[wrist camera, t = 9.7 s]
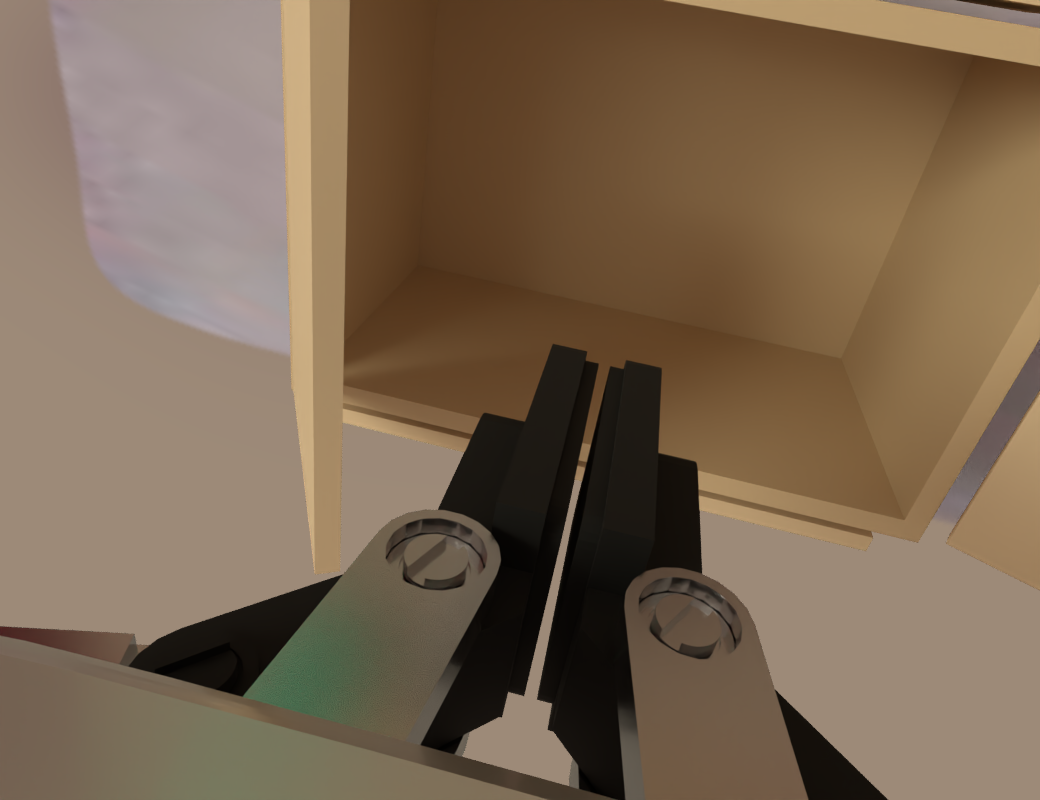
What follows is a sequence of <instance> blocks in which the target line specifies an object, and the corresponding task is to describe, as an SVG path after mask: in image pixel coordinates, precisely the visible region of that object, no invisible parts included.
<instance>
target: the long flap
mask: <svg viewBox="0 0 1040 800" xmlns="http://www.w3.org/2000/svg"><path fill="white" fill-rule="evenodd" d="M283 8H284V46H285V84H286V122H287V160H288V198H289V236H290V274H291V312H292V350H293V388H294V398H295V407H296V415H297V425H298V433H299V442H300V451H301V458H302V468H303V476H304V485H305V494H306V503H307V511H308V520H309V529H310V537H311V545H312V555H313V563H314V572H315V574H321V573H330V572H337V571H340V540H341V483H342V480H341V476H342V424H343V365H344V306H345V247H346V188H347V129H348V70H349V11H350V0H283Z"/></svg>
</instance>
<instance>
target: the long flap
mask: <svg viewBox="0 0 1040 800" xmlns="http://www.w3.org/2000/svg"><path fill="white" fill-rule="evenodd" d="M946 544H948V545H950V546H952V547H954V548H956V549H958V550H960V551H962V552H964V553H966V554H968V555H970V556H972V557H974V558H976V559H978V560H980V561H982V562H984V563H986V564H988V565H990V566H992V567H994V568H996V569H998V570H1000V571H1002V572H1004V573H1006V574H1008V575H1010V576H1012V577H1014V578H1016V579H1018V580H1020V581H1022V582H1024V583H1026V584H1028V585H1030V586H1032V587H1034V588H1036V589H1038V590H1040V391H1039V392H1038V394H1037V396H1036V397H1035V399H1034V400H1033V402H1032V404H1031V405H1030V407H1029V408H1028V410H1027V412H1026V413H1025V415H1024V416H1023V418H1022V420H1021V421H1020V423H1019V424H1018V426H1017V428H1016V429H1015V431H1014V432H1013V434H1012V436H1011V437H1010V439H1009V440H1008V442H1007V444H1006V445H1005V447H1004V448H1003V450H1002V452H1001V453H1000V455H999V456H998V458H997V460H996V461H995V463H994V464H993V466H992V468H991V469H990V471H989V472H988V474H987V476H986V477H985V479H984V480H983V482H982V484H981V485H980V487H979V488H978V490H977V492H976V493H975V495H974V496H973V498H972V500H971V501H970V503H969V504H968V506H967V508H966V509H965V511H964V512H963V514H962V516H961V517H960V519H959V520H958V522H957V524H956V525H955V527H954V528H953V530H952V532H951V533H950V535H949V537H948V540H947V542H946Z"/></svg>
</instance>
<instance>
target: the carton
mask: <svg viewBox="0 0 1040 800" xmlns="http://www.w3.org/2000/svg"><path fill="white" fill-rule="evenodd" d="M957 1H963V2H969V3H975V4H981V5H987V6H993V7H999V8H1004V9H1010V10H1016V11H1022V12H1029V13H1039V14H1040V0H957ZM281 26H282V62H283V98H284V133H285V169H286V205H287V241H288V277H289V312H290V348H291V382H292V383H291V384H292V390H293V391H294V388H293V350H292V312H291V274H290V236H289V198H288V160H287V122H286V84H285V46H284V8H283V0H281ZM1039 339H1040V28H1035V27H1030V26H1024V25H1018V24H1012V23H1006V22H1000V21H995V20H989V19H983V18H977V17H971V16H966V15H960V14H954V13H948V12H942V11H936V10H931V9H925V8H919V7H913V6H907V5H901V4H896V3H890V2H884V1H878V0H350V11H349V70H348V129H347V188H346V247H345V306H344V365H343V423H347V424H351V425H355V426H359V427H363V428H368V429H372V430H376V431H380V432H384V433H388V434H392V435H396V436H400V437H404V438H408V439H412V440H416V441H420V442H424V443H428V444H433V445H437V446H441V447H445V448H449V449H453V450H457V451H461V452H465V450H466V448H467V446H468V444H469V441H470V439H471V437H472V435H473V433H474V431H475V429H476V426H477V424H478V422H479V420H480V418H481V416H482V414H483V413H489V414H494V415H498V416H502V417H507V418H511V419H515V420H520V421H524V422H525V420H526V417H527V415H528V412H529V409H530V406H531V403H532V401H533V398H534V395H535V392H536V389H537V387H538V384H539V381H540V378H541V375H542V372H543V370H544V367H545V364H546V361H547V358H548V356H549V353H550V350H551V347H552V345H553V344H557V345H561V346H566V347H570V348H575V349H579V350H584V351H587V356H586V361H590V362H594V363H599V367H598V371H597V376H596V381H595V386H594V390H593V395H592V400H591V404H590V409H589V414H588V419H587V423H586V428H585V433H584V437H583V442H582V447H581V451H580V456H579V461H578V466H577V470H576V475H575V480H579V481H582V479H583V475H584V471H585V467H586V463H587V459H588V455H589V450H590V446H591V442H592V438H593V434H594V430H595V426H596V422H597V418H598V414H599V410H600V405H601V401H602V397H603V393H604V389H605V385H606V381H607V377H608V373H609V369H610V366H612V367H617V368H621V369H624V365H625V362H626V360H629V361H633V362H638V363H642V364H647V365H651V366H656V367H660V368H662V380H661V403H660V426H659V449H658V453H662V454H666V455H670V456H675V457H679V458H683V459H687V460H692V461H695V462H696V463H697V467H698V486H699V510H701V511H705V512H709V513H713V514H717V515H721V516H725V517H729V518H733V519H737V520H741V521H746V522H750V523H753V524H758V525H762V526H766V527H770V528H774V529H778V530H782V531H786V532H790V533H794V534H798V535H803V536H806V537H811V538H814V539H818V540H823V541H827V542H831V543H835V544H839V545H843V546H847V547H851V548H855V549H859V550H864V551H866V550H867V548H868V547H869V545H870V543H871V541H872V539H873V536H872V533H871V531H873V532H877V533H881V534H885V535H889V536H893V537H897V538H901V539H906V540H909V541H914V542H918V541H919V540H920V538H921V536H922V535H923V533H924V531H925V530H926V528H927V526H928V525H929V523H930V521H931V520H932V518H933V516H934V515H935V513H936V511H937V510H938V508H939V506H940V505H941V503H942V501H943V500H944V498H945V496H946V495H947V493H948V491H949V490H950V488H951V486H952V485H953V483H954V481H955V480H956V478H957V476H958V475H959V473H960V471H961V470H962V468H963V466H964V465H965V463H966V461H967V459H968V458H969V456H970V454H971V453H972V451H973V449H974V448H975V446H976V444H977V443H978V441H979V439H980V438H981V436H982V434H983V433H984V431H985V429H986V428H987V426H988V424H989V423H990V421H991V419H992V418H993V416H994V414H995V413H996V411H997V409H998V408H999V406H1000V404H1001V403H1002V401H1003V399H1004V398H1005V396H1006V394H1007V393H1008V391H1009V389H1010V388H1011V386H1012V384H1013V383H1014V381H1015V379H1016V378H1017V376H1018V374H1019V373H1020V371H1021V369H1022V368H1023V366H1024V364H1025V363H1026V361H1027V359H1028V358H1029V356H1030V354H1031V353H1032V351H1033V349H1034V348H1035V346H1036V344H1037V342H1038V341H1039Z"/></svg>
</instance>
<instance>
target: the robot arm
mask: <svg viewBox="0 0 1040 800" xmlns="http://www.w3.org/2000/svg"><path fill="white" fill-rule="evenodd" d="M586 356H587V351H584V350H579V349H575V348H570V347H566V346H561V345H557V344H553V345H552V347H551V350H550V353H549V356H548V358H547V361H546V364H545V367H544V370H543V372H542V375H541V378H540V381H539V384H538V387H537V389H536V392H535V395H534V398H533V401H532V403H531V406H530V409H529V412H528V415H527V417H526V420H525V422H524V421H520V420H515V419H511V418H507V417H502V416H498V415H494V414H489V413H483V414H482V416H481V418H480V420H479V422H478V424H477V426H476V429H475V431H474V433H473V435H472V437H471V439H470V441H469V444H468V446H467V448H466V450H465V452H464V454H463V457H462V459H461V461H460V463H459V465H458V467H457V470H456V472H455V474H454V476H453V478H452V481H451V482H450V485H449V487H448V489H447V491H446V493H445V495H444V498H443V500H442V502H441V504H440V506H439V509H438V510H421V511H416V512H410V513H406V514H404V515H402V516H400V517H397V518H395V519H393V520H391V521H390V522H389V523H388V524H387V525H385V526H384V527H383V528H382V529H381V530H380V531H379V532H378V533H377V534H376V535H375V537H374V538H373V539H372V540H371V541H370V543H369V544H368V545H367V546H366V547H365V549H364V550H363V551H362V553H361V554H360V555H359V556H358V557H357V558H356V560H355V561H354V562H353V563H352V564H351V566H350V567H349V568H348V570H347V571H346V572H345V573H344V574H343V575H340V576H337V577H334V578H331V579H328V580H325V581H322V582H319V583H316V584H313V585H310V586H307V587H304V588H301V589H298V590H295V591H292V592H289V593H286V594H283V595H280V596H277V597H274V598H271V599H268V600H265V601H262V602H259V603H256V604H253V605H250V606H247V607H244V608H241V609H238V610H235V611H232V612H229V613H226V614H223V615H220V616H217V617H214V618H211V619H208V620H205V621H202V622H199V623H196V624H193V625H190V626H187V627H184V628H181V629H179V630H177V631H174V632H172V633H170V634H168V635H166V636H164V637H161V638H159V639H157V640H156V641H155V642H153V643H152V644H151V645H136V639H135V634H128V633H110V632H93V631H92V632H91V631H75V630H57V629H40V628H38V629H37V628H22V627H4V626H0V800H887V798H886V797H885V796H884V795H883V794H882V793H880V791H879V790H877V789H876V788H875V787H874V786H873V785H872V784H871V783H870V782H869V781H868V780H867V779H866V778H865V777H864V776H863V775H862V774H861V773H860V772H859V771H858V770H857V769H856V768H855V767H854V766H853V765H852V764H851V763H850V762H849V761H848V760H847V759H846V758H845V757H844V756H843V755H842V754H841V753H839V751H837V750H836V749H835V748H834V747H833V746H832V745H831V744H830V743H829V742H828V741H827V740H826V739H825V738H824V737H823V736H822V735H821V734H820V733H819V732H818V731H817V730H816V729H815V728H814V727H813V726H812V725H811V724H810V723H809V722H808V721H807V720H806V719H805V718H804V717H803V716H802V715H801V714H800V713H799V712H798V711H796V710H795V709H794V708H793V707H792V706H791V705H790V704H789V703H788V702H787V701H786V700H785V699H784V698H783V697H782V696H781V695H780V694H779V693H778V692H777V691H776V690H775V689H774V685H773V682H772V679H771V676H770V672H769V669H768V666H767V662H766V659H765V656H764V653H763V650H762V646H761V643H760V640H759V636H758V633H757V630H756V626H755V624H754V622H753V620H752V618H751V616H750V614H749V611H748V609H747V608H746V607H745V606H744V604H743V603H742V602H741V601H740V600H739V599H738V598H737V596H736V595H735V594H734V593H732V592H731V591H730V590H728V589H727V588H726V587H724V586H723V585H722V584H720V583H719V582H717V581H715V580H713V579H711V578H709V577H707V576H705V575H703V574H702V561H701V560H702V559H701V535H700V511H699V486H698V467H697V463H696V462H695V461H692V460H687V459H683V458H679V457H675V456H670V455H666V454H662V453H658V449H659V426H660V403H661V380H662V368H660V367H656V366H651V365H647V364H642V363H638V362H633V361H629V360H626V362H625V365H624V369H621V368H617V367H612V366H610V369H609V373H608V377H607V381H606V385H605V389H604V393H603V397H602V401H601V405H600V410H599V414H598V418H597V422H596V426H595V430H594V434H593V438H592V442H591V446H590V450H589V455H588V459H587V463H586V467H585V471H584V475H583V479H582V483H581V488H580V491H579V495H578V500H577V504H576V508H575V512H574V517H573V521H572V526H571V531H570V536H569V541H568V546H567V552H566V556H565V562H564V566H563V571H562V576H561V581H560V586H559V591H558V596H557V602H556V606H555V611H554V616H553V622H552V627H551V631H550V636H549V642H548V647H547V652H546V656H545V662H544V666H543V671H542V676H541V682H540V686H539V691H538V697H537V700H541V701H545V702H548V703H552V708H551V714H550V719H549V725H548V730H550V731H553V732H554V733H555V734H556V736H557V737H558V738H559V740H560V741H561V742H562V744H563V745H564V747H565V748H566V749H567V751H568V752H569V753H570V755H571V756H572V758H573V760H572V763H571V769H570V776H569V786H566V785H562V784H559V783H555V782H552V781H548V780H544V779H541V778H537V777H534V776H530V775H526V774H522V773H519V772H515V771H512V770H508V769H504V768H501V767H497V766H494V765H490V764H486V763H482V762H479V761H476V760H472V759H468V758H465V757H462V755H463V753H464V751H465V748H466V744H467V740H468V737H469V732H470V731H472V730H474V729H476V728H478V727H480V726H482V725H484V724H486V723H488V722H490V721H492V720H494V719H496V718H498V717H502V715H503V711H504V707H505V702H506V698H507V694H508V692H511V693H515V694H519V695H522V696H524V694H525V690H526V685H527V681H528V677H529V672H530V668H531V664H532V660H533V656H534V652H535V648H536V644H537V639H538V635H539V631H540V627H541V622H542V618H543V614H544V610H545V605H546V601H547V597H548V593H549V589H550V585H551V581H552V576H553V572H554V568H555V564H556V559H557V555H558V551H559V547H560V543H561V539H562V534H563V530H564V525H565V521H566V517H567V512H568V508H569V503H570V498H571V494H572V489H573V484H574V480H575V475H576V470H577V466H578V461H579V456H580V451H581V447H582V442H583V437H584V433H585V428H586V423H587V419H588V414H589V409H590V404H591V400H592V395H593V390H594V386H595V381H596V376H597V371H598V367H599V363H594V362H590V361H586Z"/></svg>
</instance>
